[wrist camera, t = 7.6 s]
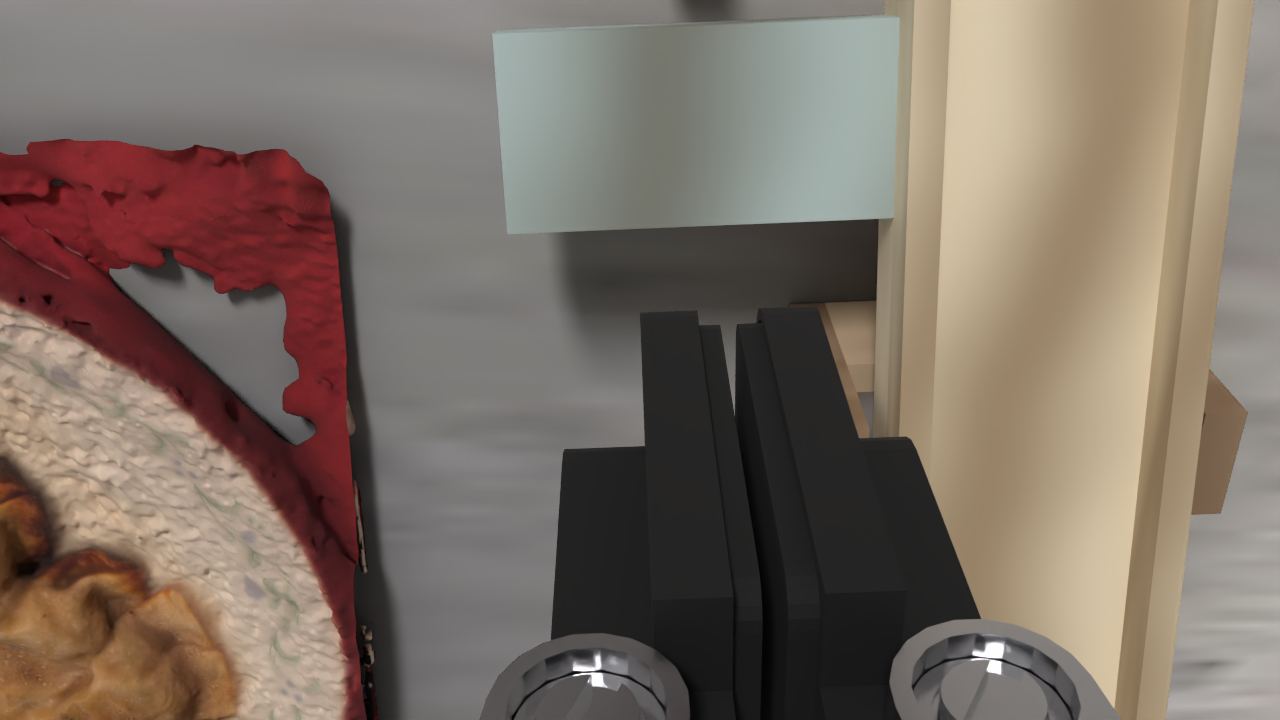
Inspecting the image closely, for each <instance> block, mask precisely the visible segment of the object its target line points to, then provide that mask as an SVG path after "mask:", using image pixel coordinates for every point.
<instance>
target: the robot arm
mask: <svg viewBox="0 0 1280 720" xmlns="http://www.w3.org/2000/svg"><path fill="white" fill-rule="evenodd" d="M640 321H641V348H642V376H643V403H644V430H645V446H639V447H612V448H586V449H565V450H564V452H563V460H562V474H561V490H560V505H559V521H558V537H557V552H556V568H555V584H554V599H553V615H552V631H551V641H547V642H544V643H542V644H540V645H538V646H536V647H534V648H533V649H531V650H529V651H527V652H525V653H523V654H522V655H520V656H518V657H517V658H516V659H515V660H514V661H513V662H512V663H511V664H510V665H509V666H508V667H507V668H506V669H505V670H504V671H503V672H501V673H500V674H499V675H498V677H497V679H496V681H495V683H494V685H493V687H492V688H491V690H490V692H489V694H488V696H487V698H486V700H485V704H484V707H483V710H482V713H481V716H480V719H479V720H1121V718H1120V717H1119V715H1118V714H1117V712H1116V711H1115V710H1114V708H1113V707H1112V705H1111V704H1110V702H1109V701H1108V699H1107V698H1106V696H1105V695H1104V693H1103V692H1102V690H1101V689H1100V687H1099V686H1098V684H1097V683H1096V681H1095V680H1094V679H1093V677H1092V676H1091V675H1090V673H1089V672H1088V671H1087V670H1086V669H1085V668H1084V667H1083V666H1082V665H1081V664H1080V662H1079V661H1078V660H1077V659H1076V658H1075V657H1074V656H1073V655H1072V654H1071V653H1070V652H1068V651H1067V650H1065V649H1064V648H1062V647H1061V646H1059V645H1058V644H1056V643H1055V642H1053V641H1052V640H1050V639H1049V638H1047V637H1046V636H1043V635H1040V634H1038V633H1035V632H1033V631H1030V630H1028V629H1025V628H1023V627H1020V626H1018V625H1015V624H1009V623H1004V622H998V621H993V620H987V619H981V617H980V614H979V611H978V609H977V606H976V604H975V601H974V598H973V596H972V593H971V591H970V588H969V585H968V583H967V580H966V577H965V575H964V572H963V570H962V567H961V564H960V562H959V559H958V557H957V554H956V551H955V549H954V546H953V544H952V541H951V538H950V536H949V533H948V530H947V528H946V525H945V523H944V520H943V517H942V515H941V512H940V510H939V507H938V504H937V502H936V499H935V497H934V494H933V491H932V489H931V486H930V483H929V481H928V478H927V476H926V473H925V470H924V468H923V465H922V463H921V460H920V457H919V455H918V452H917V450H916V447H915V446H914V444H913V442H912V440H911V439H910V438H908V437H906V436H905V437H879V438H859V436H858V433H857V430H856V427H855V423H854V420H853V417H852V414H851V411H850V408H849V404H848V401H847V398H846V395H845V392H844V389H843V385H842V382H841V379H840V376H839V373H838V369H837V366H836V363H835V360H834V357H833V354H832V350H831V347H830V344H829V341H828V338H827V335H826V331H825V328H824V325H823V322H822V319H821V315H820V312H819V310H818V308H817V306H808V307H781V308H759V310H758V315H757V323H752V324H737V329H736V381H735V416H734V409H733V403H732V397H731V391H730V384H729V378H728V372H727V366H726V359H725V353H724V347H723V340H722V334H721V328H720V325H699V323H698V315H697V311H675V312H648V313H640Z"/></svg>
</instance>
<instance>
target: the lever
mask: <svg viewBox="0 0 1280 720" xmlns="http://www.w3.org/2000/svg"><path fill="white" fill-rule="evenodd" d="M1254 1H1255V0H885V14H884V15H862V16H837V17H812V18H788V19H763V20H738V21H713V22H688V23H663V24H638V25H613V26H588V27H563V28H539V29H514V30H498V31H496V32H495V33H493V34H492V36H493V50H494V63H495V76H496V90H497V103H498V117H499V130H500V143H501V157H502V170H503V183H504V197H505V210H506V223H507V234H526V233H550V232H574V231H598V230H622V229H646V228H670V227H694V226H718V225H742V224H766V223H790V222H814V221H838V220H862V219H879V232H878V268H877V305H876V341H875V378H874V414H873V438H879V437H905V436H906V437H908V438H910V439H911V440H912V442H913V444H914V446H915V447H916V450H917V452H918V455H919V457H920V460H921V463H922V465H923V468H924V470H925V473H926V476H927V478H928V481H929V483H930V486H931V489H932V491H933V494H934V497H935V499H936V502H937V504H938V507H939V510H940V512H941V515H942V517H943V520H944V523H945V525H946V528H947V530H948V533H949V536H950V538H951V541H952V544H953V546H954V549H955V551H956V554H957V557H958V559H959V562H960V564H961V567H962V570H963V572H964V575H965V577H966V580H967V583H968V585H969V588H970V591H971V593H972V596H973V598H974V601H975V604H976V606H977V609H978V611H979V614H980V617H981V619H987V620H993V621H998V622H1004V623H1009V624H1015V625H1018V626H1020V627H1023V628H1025V629H1028V630H1030V631H1033V632H1035V633H1038V634H1040V635H1043V636H1046V637H1047V638H1049V639H1050V640H1052V641H1053V642H1055V643H1056V644H1058V645H1059V646H1061V647H1062V648H1064V649H1065V650H1067V651H1068V652H1070V653H1071V654H1072V655H1073V656H1074V657H1075V658H1076V659H1077V660H1078V661H1079V662H1080V664H1081V665H1082V666H1083V667H1084V668H1085V669H1086V670H1087V671H1088V672H1089V673H1090V675H1091V676H1092V677H1093V679H1094V680H1095V681H1096V683H1097V684H1098V686H1099V687H1100V689H1101V690H1102V692H1103V693H1104V695H1105V696H1106V698H1107V699H1108V701H1109V702H1110V704H1111V705H1112V707H1113V708H1114V710H1115V711H1116V712H1117V714H1118V715H1119V717H1120V718H1121V720H1166V714H1167V706H1168V698H1169V690H1170V682H1171V674H1172V665H1173V657H1174V649H1175V641H1176V633H1177V625H1178V617H1179V609H1180V601H1181V592H1182V584H1183V576H1184V568H1185V560H1186V552H1187V544H1188V536H1189V528H1190V519H1191V511H1192V503H1193V495H1194V487H1195V479H1196V471H1197V463H1198V455H1199V447H1200V438H1201V430H1202V422H1203V414H1204V406H1205V398H1206V390H1207V382H1208V374H1209V365H1210V357H1211V349H1212V341H1213V333H1214V325H1215V317H1216V309H1217V301H1218V292H1219V284H1220V276H1221V268H1222V260H1223V252H1224V244H1225V236H1226V228H1227V219H1228V211H1229V203H1230V195H1231V187H1232V179H1233V171H1234V163H1235V155H1236V146H1237V138H1238V130H1239V122H1240V114H1241V106H1242V98H1243V90H1244V82H1245V73H1246V65H1247V57H1248V49H1249V41H1250V33H1251V25H1252V17H1253V9H1254Z"/></svg>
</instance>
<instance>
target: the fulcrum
mask: <svg viewBox="0 0 1280 720" xmlns="http://www.w3.org/2000/svg"><path fill="white" fill-rule="evenodd" d="M876 305H877V301H853V302H830V303H806V304H790V305H789V307H808V306H817V308H818V310H819V312H820V315H821V319H822V322H823V325H824V328H825V331H826V335H827V338H828V341H829V344H830V347H831V350H832V354H833V357H834V360H835V363H836V366H837V369H838V373H839V376H840V379H841V382H842V385H843V389H844V392H845V395H846V398H847V401H848V404H849V408H850V411H851V414H852V417H853V420H854V423H855V427H856V430H857V433H858V436H859V438H873V414H874V378H875V341H876ZM1247 413H1248V412H1247V411H1246V410H1245V409H1244V408H1243V406H1242V405H1241V404H1240V403H1239V402H1238V401H1237V400H1236V398H1235V397H1234V396H1233V395H1232V394H1231V393H1230V392H1229V390H1228V389H1227V388H1226V387H1225V386H1224V385H1223V384H1222V383H1221V381H1220V380H1219V379H1218V378H1217V377H1216V376H1215V375H1214V373H1213V372H1212V371H1211V370H1210V369H1209V374H1208V382H1207V390H1206V398H1205V406H1204V414H1203V422H1202V430H1201V438H1200V447H1199V455H1198V463H1197V471H1196V479H1195V487H1194V495H1193V503H1192V511H1191V515H1195V514H1218V513H1221V510H1222V507H1223V503H1224V499H1225V495H1226V492H1227V488H1228V484H1229V481H1230V477H1231V473H1232V469H1233V466H1234V462H1235V458H1236V454H1237V451H1238V447H1239V443H1240V440H1241V436H1242V432H1243V428H1244V425H1245V421H1246V417H1247Z"/></svg>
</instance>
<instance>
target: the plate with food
mask: <svg viewBox="0 0 1280 720" xmlns="http://www.w3.org/2000/svg"><path fill="white" fill-rule="evenodd" d="M27 152H28V153H29V154H26V155H8V154H3V153H1V152H0V720H379V718H378V712H377V705H376V698H375V686H374V682H373V673H372V668H371V667H370V665H371V664H372V663H373V662H374V661H375V651H374V649H373V647H372V645H371V644H365V645H364V646H363V650H364V654H363V656H362V657H360V661H361V664H362V666H366V668H367V669H366V675H365V686H364V685H362V684H361V670H360V663H359V652H358V648H357V643H356V617H355V612H354V571H355V567H356V566H357V565H358V562H359V564H360V567H361V572H362V573H366V572H367V571H368V566H367V562H366V552H365V538H364V529H363V518H362V511H361V497H360V490H359V487H358V485H357V484H356V480H352V470H351V453H350V442H349V436H351V435H353V433H354V432H355V422H354V418H353V415H352V412H351V409H350V404H349V402H348V401H347V388H346V380H347V375H346V364H347V352H346V343H345V329H344V320H343V313H342V300H341V288H340V276H339V266H338V253H337V245H336V236H335V229H334V222H333V218H332V217H331V212H330V195H329V192H328V189H327V188H326V187H325V186H324V184H323V182H322V181H321V180H319V179H317V178H316V177H314V176H312V175H310V174H308V173H306V172H305V170H304V169H303V168H302V166H301V165H300V163H299V162H298V161H297V160H296V159H295V158H292V157H291V156H290V155H289V154H288V153H287V151H285V150H282V149H270V150H262V151H255V152H251V153H249V154H244V155H238V154H236V153H235V152H232V151H224V150H221V149H216V148H210V147H203V146H199V145H193V147H191V148H188V149H185V150H176V151H165V150H159V149H154V148H150V147H144V146H136V145H130V144H126V143H123V142H119V141H73V140H70V139H61V140H53V141H43V142H30V143H29V145H28V146H27ZM54 179H57V180H62V181H64V183H63V184H62V185H61V186H54V185H51V181H53V180H54ZM28 194H33V195H28ZM5 201H6V202H5ZM162 248H167V249H170V250H171V251H173V254H174V258H175V259H176V261H177V262H178V263H180V264H181V265H183V266H186V267H190V268H192V269H196V270H199V271H202V272H204V273H206V274H208V275H210V276H212V277H213V279H214V289H215V290H216V292H217V293H219V294H224V293H227V292H229V291H232V290H235V289H240V290H243V291H247V292H248V291H250V290H252V289H256V288H260V287H263V286H265V285H268V284H269V285H274V286H275V287H277V288H278V289H279V290H280V291H281V293H282V294H283V296H284V299H285V302H286V311H287V317H286V322H285V326H284V337H283V342H284V347H285V350H286V351H287V352H288V353H289V354H290V355H291V356H292V357H294V358H295V360H296V362H297V364H298V368H299V379H298V380H296V381H294V382H293V383H291V384H290V385H289V386H288V387H286V388H285V390H284V392H283V410H284V411H285V412H286V413H289V414H292V415H296V416H301V417H304V418H307V419H310V420H311V421H312V422H313V423H314V424H315V425H316V433H315V434H314V435H313V436H312V437H311V438H310V439H308V440H306V441H304V442H302V443H301V444H299V445H293V444H289V443H288V442H286V441H285V440H283V439H282V438H281V437H279V436H278V435H277V434H275V433H274V432H273V430H272V429H271V428H270V427H269V426H268V425H267V424H266V423H264V422H263V421H262V420H261V419H260V418H259V417H258V415H257V414H256V413H254V412H253V411H252V410H251V409H250V408H248V407H247V406H246V405H245V404H244V403H242V402H241V401H240V400H239V399H238V398H237V396H236V394H235V393H234V392H233V391H232V390H231V389H230V388H228V387H227V386H225V385H224V384H223V383H222V382H221V381H219V380H218V379H217V378H216V377H215V376H214V375H213V374H212V373H211V372H209V371H208V370H207V369H206V368H205V367H204V366H203V365H202V364H201V363H200V362H199V361H198V360H197V359H196V358H195V357H194V356H193V355H192V354H191V353H189V352H188V351H187V350H186V349H185V348H184V347H182V346H181V345H180V344H179V343H178V342H177V341H176V340H175V339H174V338H173V337H172V336H171V335H170V334H168V333H167V332H166V331H165V330H164V329H163V328H162V327H161V326H160V325H158V324H157V323H156V322H155V321H154V320H153V318H152V317H151V315H150V314H149V313H148V312H147V311H146V310H145V309H144V308H142V307H141V306H139V305H138V304H136V303H134V302H133V301H132V300H131V299H130V298H129V297H128V296H126V295H124V294H123V293H122V292H121V291H120V290H119V289H118V288H117V287H116V286H115V285H114V284H113V283H112V279H113V278H112V277H111V276H110V274H109V269H110V268H113V269H122V268H128V267H129V266H130V265H129V264H131V263H135V264H141V265H144V266H146V267H149V268H159V267H161V266H163V265H164V264H165V259H164V255H163V253H162V252H161V251H162ZM125 261H126V262H125ZM358 550H359V552H358ZM371 623H372V622H371ZM360 629H361V636H362V638H363V641H364V640H371V639H372V638H373V630H369V631H368V632H367V634H365V629H366V625H361V626H360ZM362 689H365V691H366V695H367V697H368V698H365V699H364V700H363V690H362Z"/></svg>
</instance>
